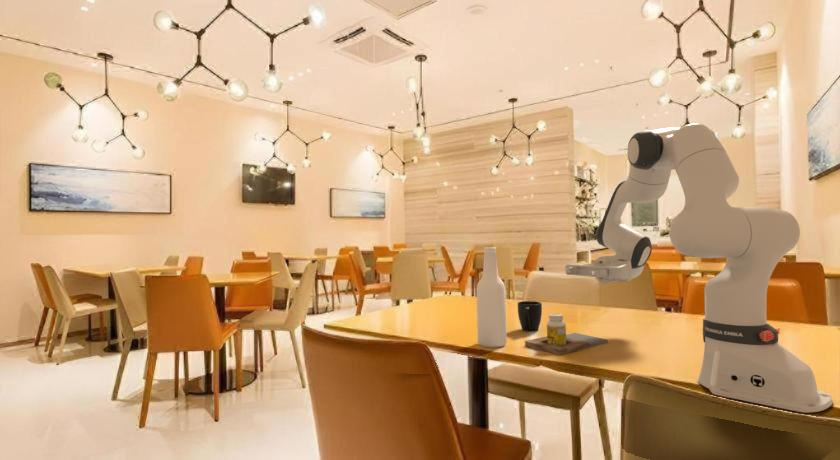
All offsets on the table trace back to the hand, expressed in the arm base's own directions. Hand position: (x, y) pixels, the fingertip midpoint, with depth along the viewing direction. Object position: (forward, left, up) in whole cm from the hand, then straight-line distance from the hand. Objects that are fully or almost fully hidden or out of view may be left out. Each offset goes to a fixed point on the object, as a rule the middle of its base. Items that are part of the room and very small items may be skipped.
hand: (580, 272), depth 142 cm
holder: (0, +12, -21) cm, 25 cm away
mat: (0, 0, -21) cm, 21 cm away
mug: (+20, +2, -22) cm, 29 cm away
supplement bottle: (0, +12, -22) cm, 25 cm away
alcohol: (+14, +25, -22) cm, 36 cm away
